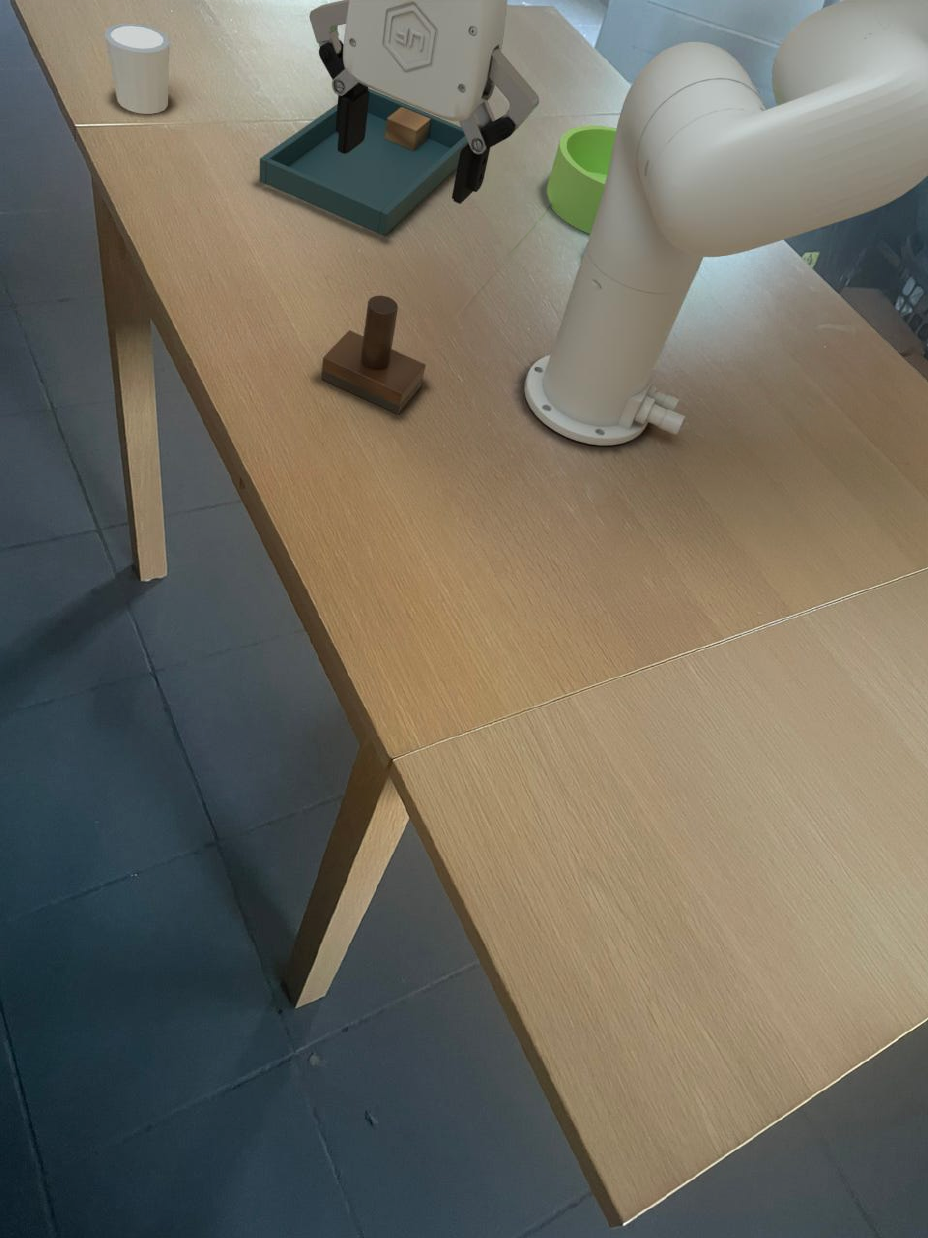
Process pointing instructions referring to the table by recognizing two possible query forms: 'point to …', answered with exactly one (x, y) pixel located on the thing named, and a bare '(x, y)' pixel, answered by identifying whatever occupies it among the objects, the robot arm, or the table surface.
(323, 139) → the tray
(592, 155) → the food container
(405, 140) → the wooden block
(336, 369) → the stamp
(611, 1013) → the table surface
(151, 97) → the white cup
